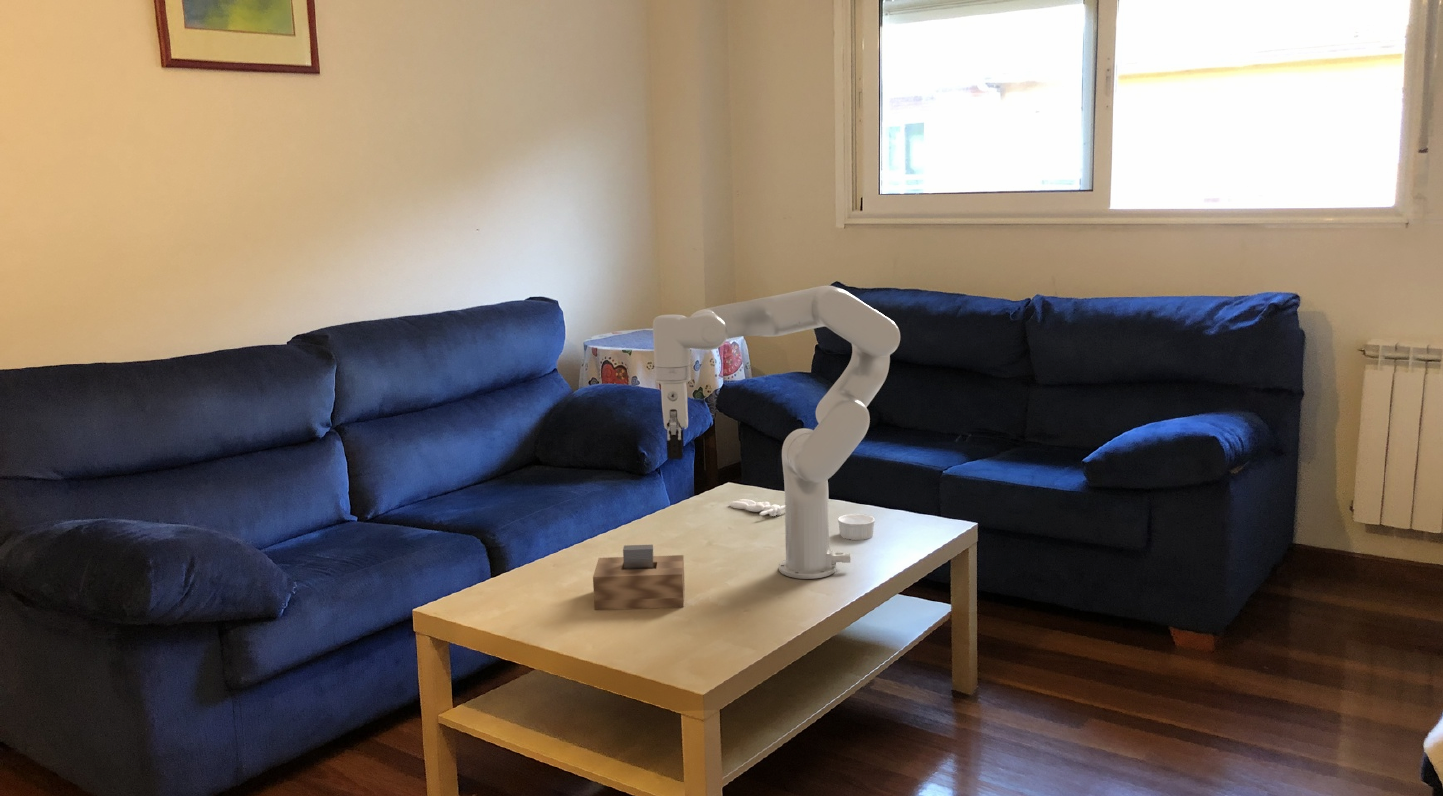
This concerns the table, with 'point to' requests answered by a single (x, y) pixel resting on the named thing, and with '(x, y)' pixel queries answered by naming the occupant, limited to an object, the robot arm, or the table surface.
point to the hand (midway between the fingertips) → (675, 453)
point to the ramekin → (856, 526)
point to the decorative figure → (758, 507)
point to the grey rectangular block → (638, 557)
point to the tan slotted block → (639, 584)
